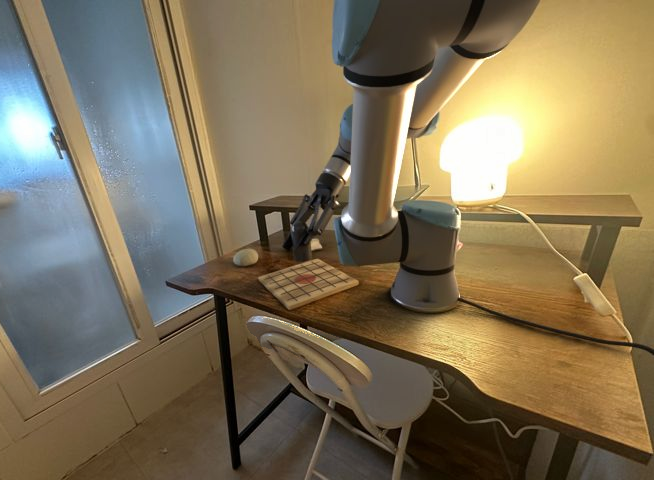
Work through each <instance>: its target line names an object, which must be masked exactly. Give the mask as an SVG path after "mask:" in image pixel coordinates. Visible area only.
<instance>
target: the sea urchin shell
mask: <svg viewBox="0 0 654 480" xmlns="http://www.w3.org/2000/svg"><path fill="white" fill-rule="evenodd" d="M258 260H259V254H258V252H257V250H255V249H254V248H243V249H241V250H239V251H237V252H236V253H235V254H234V255H233V258H232V262H233V263H234V265H236V266H238V267H245V268H246V267H249V266H252V265H254V264H256V263H257V262H258Z"/></svg>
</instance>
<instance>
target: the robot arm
mask: <svg viewBox="0 0 654 480" xmlns="http://www.w3.org/2000/svg"><path fill="white" fill-rule="evenodd" d="M540 2H541V0H333V6H332V7H333V9H332V21H331V22H332V23H331V24H332V28H331V29H332V33H331V34H332V35H331V53H332V61H333V64H335V65H336V66H339V67H340V68H341V67H342V69H343V70H342V73H343V74H342V75H343V79H344V80H345V82H346V83H347V84H348V85H349V86H350V87H352V88H353V93H352V94H353V95H352V104H349V105H348V106H347V107H346V109H345V110H344V111H343V113H342V116H341V119H340V123H339V137H338V142H337V145H336V147H335V149H334V151H333V152H332V155H331V156H330V158H329V159H328V161H327V163H326V164H325V165H324V167H323V169H322V173H320V175H319V176H318V178H317V180H316V182H315V183H314V184H315V190H314V191H313V192H312V193H311V195H308V193H306V194H304V196H303V198H302V201H301V203H300V204H299V206H298V207H297V210H296V211H295V212H294V215H293V216H292V218H291V219H290V221H289V224H290V225H291V226H292V225H293V224H294V223H295V222H297V221H303V222H305V223H307V222H308V221H309V220H310V218H311V217H312V219H311V221H310V223H309V225H308V226H309V228H308V229H306V230H307V231H308V232H307V231H305V232H304V234H303V235H302V237H301V239H300V241H299V242H298V244H297V246H296V247H295V249H294V251H293V250H292V249H293V245H292V237H291V230H290V231H289V233H288V234H287V236H286V238H285V239H284V242H283V244H282V245H281V248H282V249H284V250H286V252H290V251H291V250H292V253H293V252H294V253H295V254H297V255H298V256H300V257H301V256H302V254H303V253H304V251H305V249H306V248H307V246H308V245H309V244H310V242H311V241H312V239H314V237H316V236H322V235H323V233H324V231H325V229H326V228H327V226H328V224H329V222H330V220H331V219H332V217H333V216H334V213H335V212H336V211H337V209H338V208H339V207H340V206H341V203H340V202H338V200H337V199H338V198H339V197H340V195H341V194H342V192H343V191H344V189H345V186H346V185H347V183H348V182H349V186H348V187H349V190H348V203H347V204H346V205H345V206H344V207H343V208H342V210H341V212H340V213H341V214H340V216H338V217H335V218H334V219H333V228H334V234H335V235H334V236H335V239H336V245H337V251H338V256H339V261H340V263H341V264H342V266H344V267H356V268H359V267H360V268H361V267H365V266H366V267H367V266H375V265H376V266H377V265H385V264H386V265H387V264H396V263H397V264H398V263H399V267H398V270H397V273H396V275H395V278H394V280H393V283H392V284H391V289H390V298H391V300H392V301H393V302H394V303H395V304H396V305H397V306H399V307H401V308H403V309H405V310H409V311H412V312H417V313H423V314H439V313H443V312H444V313H445V312H447V311H450V310H453V309H454V308H456V307H457V306H458V305H459V302H461V303H464V304H466V305H469V306H471V307H474V308H476V309H478V310H480V311H483V312H486V313H488V314H491V315H494V316H497V317H499V318H502V319H505V320H509V321H512V322H516V323H519V324H523V325H526V326H530V327H535V328H536V329H537V328H538V329H542V330H545V331H548V332H553V333H556V334H559V335H564V336H568V337H572V338H577V339H580V340H585V341H588V342H594V343H598V344H603V345H608V346H618V347H628V348H635V349H640V350H643V351H646V352H648V353H650V354H651V355H652V356H654V348H652V347H650V346H648V345H645V344H641V343H638V342H629V341H619V340H609V339H603V338H598V337H595V336H589V335H585V334H581V333H580V334H579V333H576V332H572V331H569V330H564V329H559V328H557V327H556V328H555V327H551V326H547V325H544V324H539V323H535V322H532V321H528V320H526V319H522V318H517V317H515V316H511V315H508V314H505V313H502V312H498V311H495V310H493V309H490V308H487V307H485V306H483V305H480V304H477V303H475V302H473V301H470V300H468V299H464V298H462V297H461V294H460V288H459V285H458V280H457V277H456V273H455V266H456V259H457V252H458V251H457V246H458V241H459V239H460V238H459V237H460V231H461V228H462V227H461V219H462V215H461V211H460V209H459V208H458V207H457V206H455V205H453V204H450V203H447V202H443V201H435V200H424V199H420V200H419V199H416V200H415V199H414V200H409V201H405V202H403V203H402V206H401V208H400V210H397V208H396V207H395V206H394V201H395V196H396V191H397V186H398V181H399V178H400V177H399V176H400V172H401V167H402V162H403V161H402V160H403V156H404V152H405V147H406V141H407V140H408V139H419V138H422V137H426V136H431V135H432V134H434V133H435V132H436V130H437V126H438V125H439V123H440V113H441V112H440V111H441V110H442V109H443V108H444V107H445V105H446V104H447V103H448V102H449V101H450V99H452V97H454V95H455V94H456V93H457V91H459V89H460V88H461V87H462V86H463V84H465V83H466V82H467V80H468V79H469V78H470V77H471V76H472V75H473V74H474V73H475V71H476V70H477V69H478V68H479V67H480V66H481V65H482V63H483V62H484V61H485V60H488V59H490V58H493V57H494V56H496V55H498V54H499V53H501V52H502V51H504V49H505V48H507V47H508V45H510V43H511V42H512V41H513V40H514V39H515V38H516V37H517V36H518V35H519V33H520V32H521V31H522V30H523V29H524V28H525V26H526V25H527V24H528V22H529V21H530V20H531V17H532V16H533V15H534V13H535V11H536V9H537V8H538V6H539V4H540ZM312 215H313V216H312ZM294 253H293V254H294Z"/></svg>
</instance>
